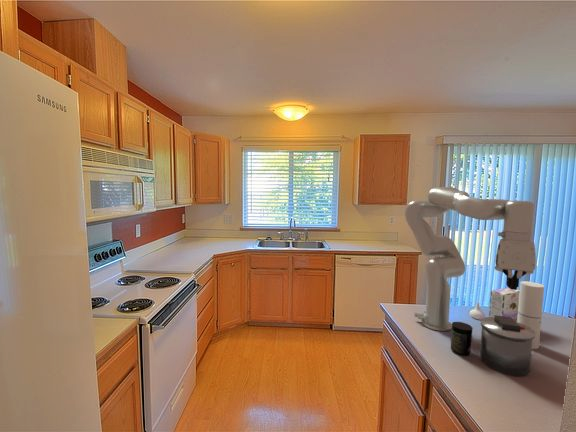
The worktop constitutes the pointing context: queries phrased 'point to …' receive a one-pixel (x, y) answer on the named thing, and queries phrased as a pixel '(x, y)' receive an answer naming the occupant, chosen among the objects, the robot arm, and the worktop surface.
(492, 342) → the dark grey rounded block
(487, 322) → the round plate
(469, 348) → the supplement container
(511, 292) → the candy box
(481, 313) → the garlic bulb
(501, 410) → the worktop surface
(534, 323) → the cylindrical container
